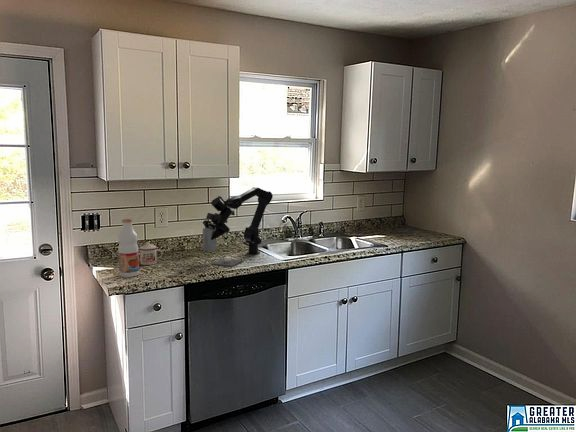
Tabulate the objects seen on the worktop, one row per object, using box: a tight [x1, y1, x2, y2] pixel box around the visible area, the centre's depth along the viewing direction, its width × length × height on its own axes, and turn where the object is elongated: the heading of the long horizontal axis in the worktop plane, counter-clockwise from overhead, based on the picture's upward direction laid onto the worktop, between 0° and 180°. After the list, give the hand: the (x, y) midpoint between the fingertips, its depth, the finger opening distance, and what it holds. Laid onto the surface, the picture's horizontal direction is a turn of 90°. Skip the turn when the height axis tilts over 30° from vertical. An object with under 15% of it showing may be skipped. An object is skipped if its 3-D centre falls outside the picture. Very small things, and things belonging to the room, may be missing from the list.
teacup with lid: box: [139, 242, 163, 266], centre depth 261 cm, size 12×9×12 cm
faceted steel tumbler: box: [202, 227, 217, 252], centre depth 264 cm, size 7×7×12 cm
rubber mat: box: [210, 256, 244, 268], centre depth 263 cm, size 13×13×3 cm
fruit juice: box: [117, 218, 140, 278], centre depth 235 cm, size 9×9×28 cm
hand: (207, 238), depth 263 cm, fingers closed on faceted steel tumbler, 7 cm apart
